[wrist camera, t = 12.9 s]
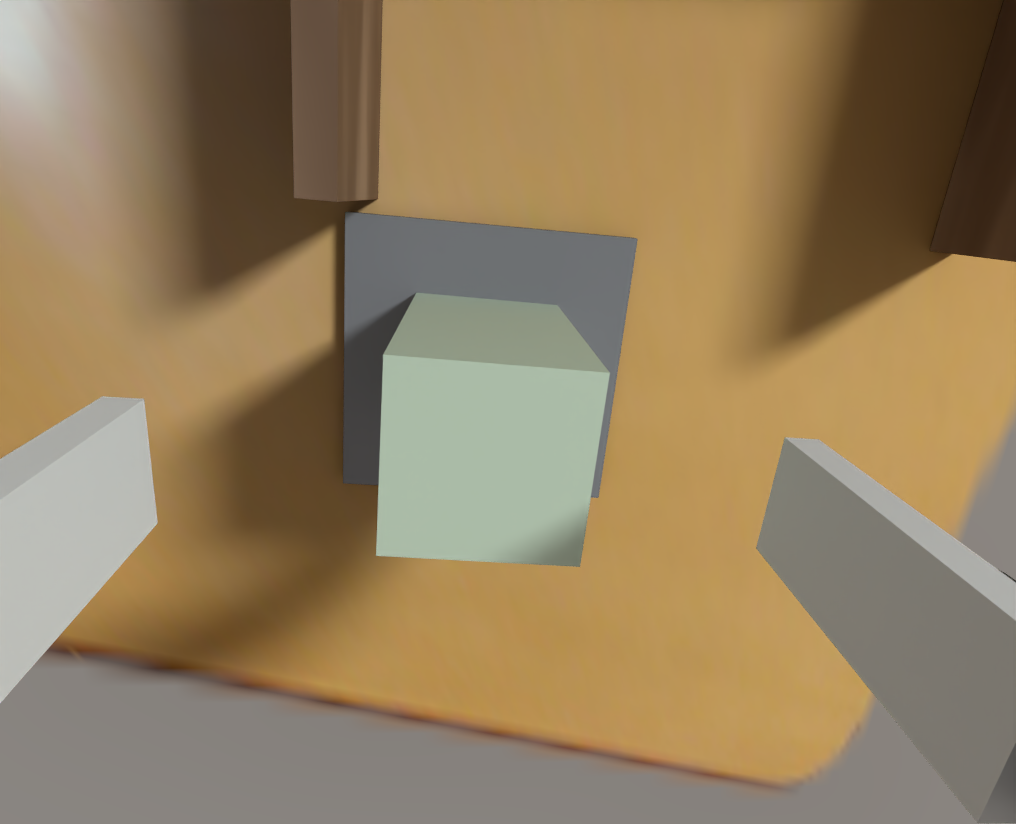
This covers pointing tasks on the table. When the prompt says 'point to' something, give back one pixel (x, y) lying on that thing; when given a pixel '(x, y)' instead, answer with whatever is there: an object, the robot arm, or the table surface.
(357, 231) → the mat
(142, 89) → the table surface
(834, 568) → the robot arm
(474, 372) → the block
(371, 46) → the cubby
